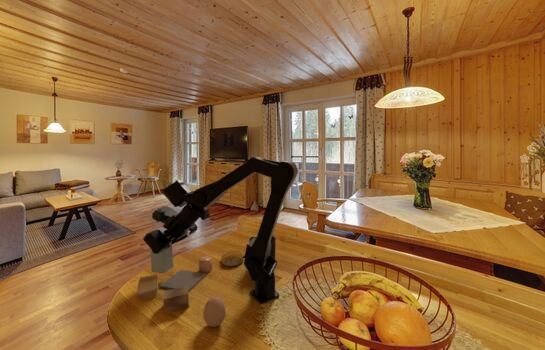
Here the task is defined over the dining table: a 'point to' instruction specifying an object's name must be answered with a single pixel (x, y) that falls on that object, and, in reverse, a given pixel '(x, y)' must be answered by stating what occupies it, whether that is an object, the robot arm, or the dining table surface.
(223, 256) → the bread roll
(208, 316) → the mauve oval ball
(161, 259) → the tall block
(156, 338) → the dining table surface
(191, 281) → the coaster
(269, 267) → the robot arm
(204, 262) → the pink rounded pebble
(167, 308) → the walnut brick
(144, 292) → the beech cube
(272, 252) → the pen holder
